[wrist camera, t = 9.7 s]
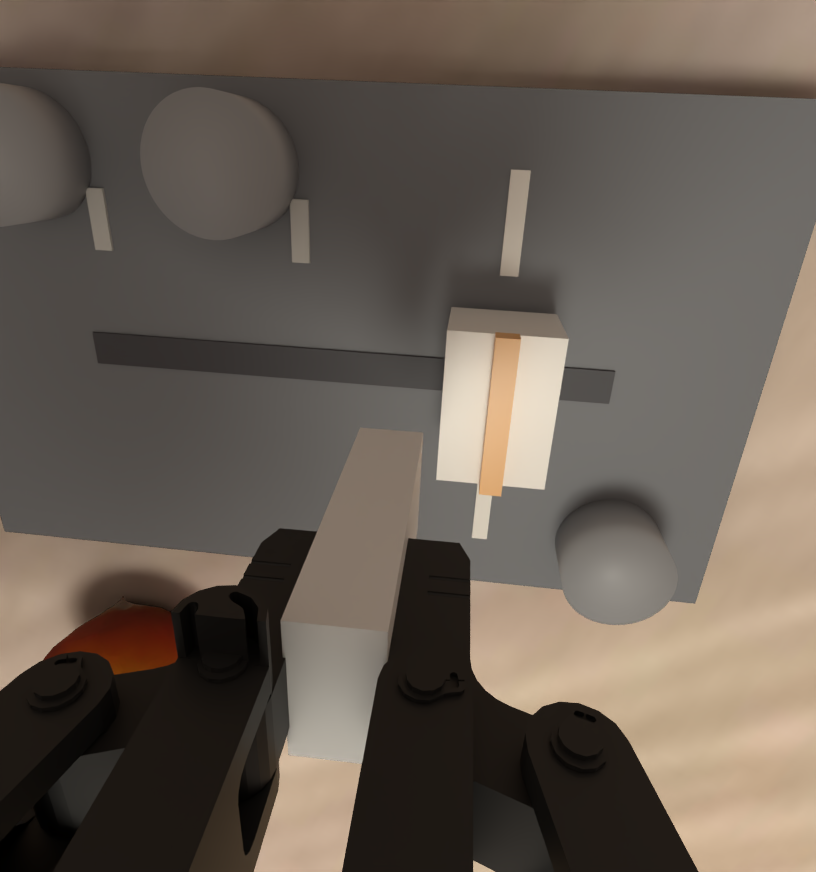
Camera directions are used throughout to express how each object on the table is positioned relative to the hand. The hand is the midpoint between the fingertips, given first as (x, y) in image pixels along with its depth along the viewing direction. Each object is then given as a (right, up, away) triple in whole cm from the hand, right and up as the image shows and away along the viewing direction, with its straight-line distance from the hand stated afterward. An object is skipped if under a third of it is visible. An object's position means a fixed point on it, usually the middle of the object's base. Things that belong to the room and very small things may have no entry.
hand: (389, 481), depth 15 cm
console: (-2, +4, +9) cm, 10 cm away
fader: (+4, +3, +7) cm, 8 cm away
